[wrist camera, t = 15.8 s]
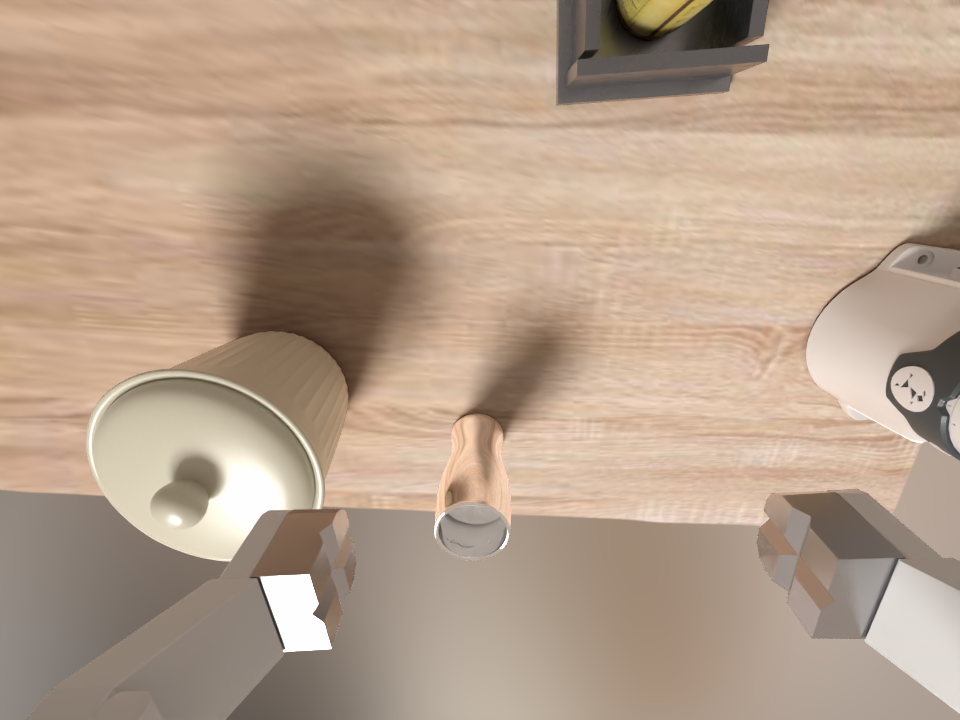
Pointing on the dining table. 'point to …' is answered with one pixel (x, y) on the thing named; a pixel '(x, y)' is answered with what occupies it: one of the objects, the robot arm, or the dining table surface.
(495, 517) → the beer glass
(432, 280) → the dining table surface
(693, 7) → the sauce bottle
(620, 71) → the square socket
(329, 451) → the canister
